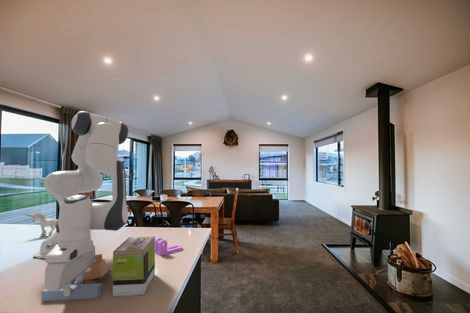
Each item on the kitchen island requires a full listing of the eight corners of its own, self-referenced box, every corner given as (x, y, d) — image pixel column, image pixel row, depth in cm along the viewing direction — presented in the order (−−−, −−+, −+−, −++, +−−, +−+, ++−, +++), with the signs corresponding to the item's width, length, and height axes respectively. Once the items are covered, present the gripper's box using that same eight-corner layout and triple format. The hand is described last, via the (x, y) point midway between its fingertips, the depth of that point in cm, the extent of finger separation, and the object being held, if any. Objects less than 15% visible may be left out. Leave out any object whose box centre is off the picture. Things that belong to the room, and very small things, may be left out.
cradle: (55, 287, 82) (56, 281, 82) (70, 276, 89) (70, 271, 89) (100, 286, 83) (100, 280, 83) (110, 276, 90) (110, 270, 90)
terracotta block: (66, 284, 84) (63, 262, 84) (73, 278, 88) (70, 258, 88) (101, 277, 85) (98, 256, 85) (106, 272, 89) (103, 252, 89)
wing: (41, 301, 73) (41, 291, 73) (48, 295, 77) (49, 285, 77) (96, 298, 75) (97, 288, 75) (101, 292, 79) (101, 283, 79)
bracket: (159, 256, 111) (159, 241, 111) (154, 253, 115) (154, 238, 115) (184, 249, 119) (184, 235, 120) (178, 246, 123) (178, 233, 124)
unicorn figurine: (31, 234, 143) (32, 212, 144) (67, 233, 147) (67, 211, 147) (22, 238, 136) (23, 214, 137) (60, 236, 140) (61, 213, 140)
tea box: (128, 275, 91) (129, 236, 91) (155, 274, 92) (156, 235, 92) (111, 297, 76) (112, 249, 76) (143, 296, 77) (144, 249, 77)
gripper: (83, 237, 87) (82, 276, 86) (40, 259, 66) (38, 310, 66) (101, 237, 87) (100, 275, 87) (63, 258, 67) (62, 309, 66)
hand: (73, 290), depth 76 cm, fingers closed on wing, 4 cm apart
